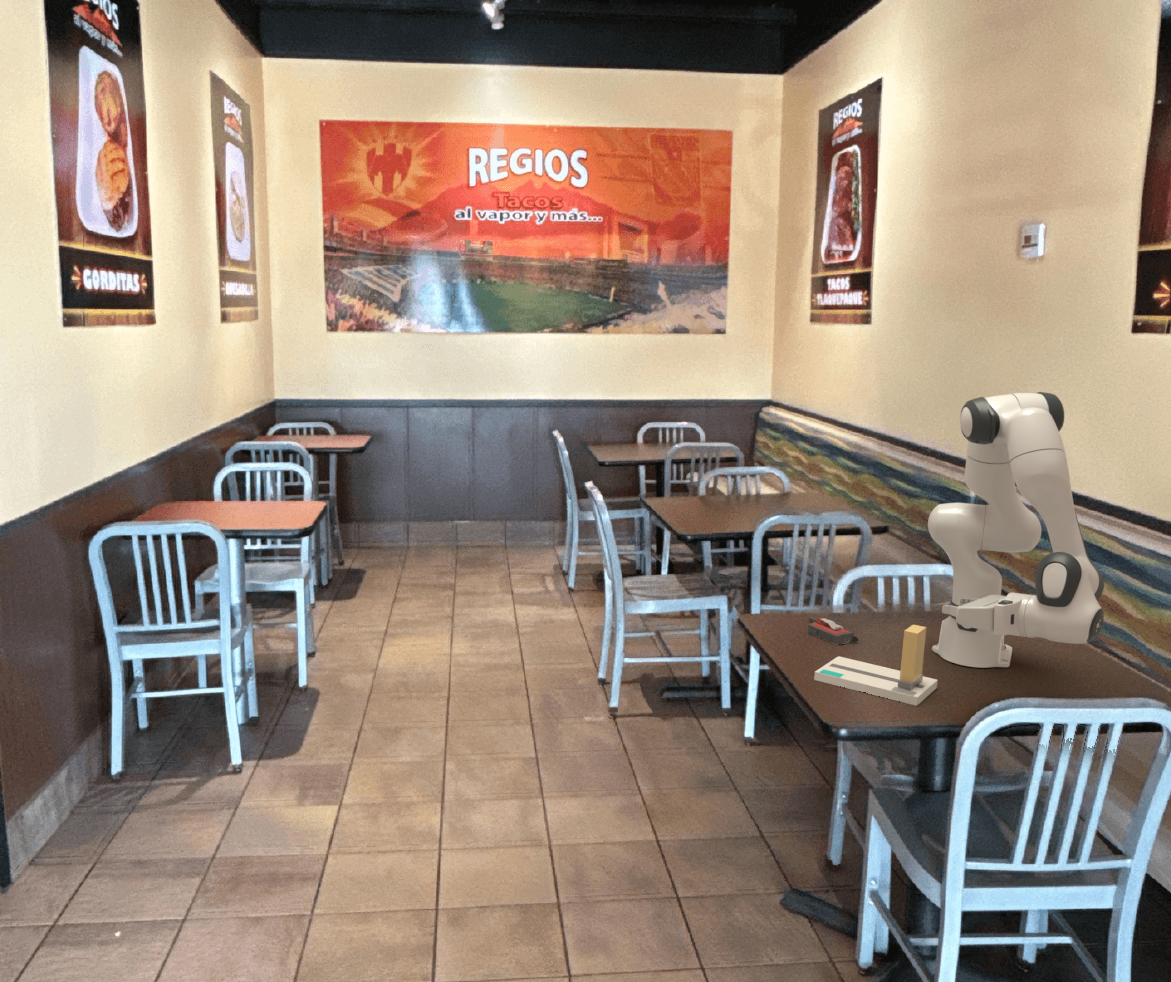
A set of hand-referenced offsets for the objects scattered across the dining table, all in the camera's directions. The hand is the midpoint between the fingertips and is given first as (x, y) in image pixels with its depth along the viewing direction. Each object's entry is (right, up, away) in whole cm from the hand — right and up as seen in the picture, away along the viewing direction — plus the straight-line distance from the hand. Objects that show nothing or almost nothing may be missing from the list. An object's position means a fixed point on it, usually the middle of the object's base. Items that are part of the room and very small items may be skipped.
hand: (952, 605), depth 227 cm
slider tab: (-6, -19, +9) cm, 22 cm away
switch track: (-13, -20, +14) cm, 27 cm away
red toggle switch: (-16, -13, +49) cm, 54 cm away
